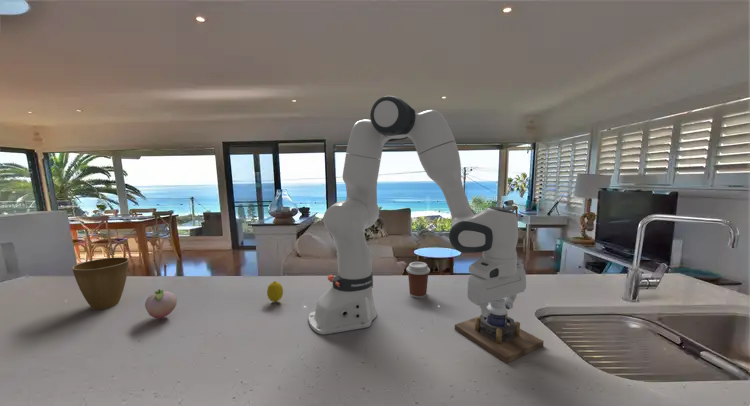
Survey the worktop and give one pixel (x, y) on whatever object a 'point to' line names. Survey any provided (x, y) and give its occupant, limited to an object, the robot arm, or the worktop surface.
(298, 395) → the worktop surface
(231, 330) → the worktop surface
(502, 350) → the collar stand
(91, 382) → the worktop surface
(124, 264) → the plant pot
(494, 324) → the pill bottle
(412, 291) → the coffee cup
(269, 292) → the lemon
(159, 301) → the decorative fruit
